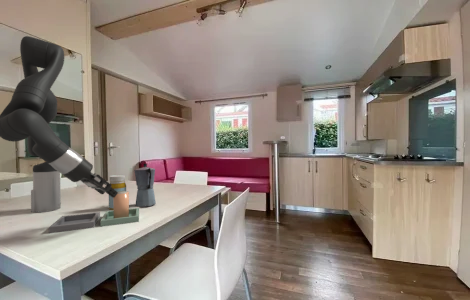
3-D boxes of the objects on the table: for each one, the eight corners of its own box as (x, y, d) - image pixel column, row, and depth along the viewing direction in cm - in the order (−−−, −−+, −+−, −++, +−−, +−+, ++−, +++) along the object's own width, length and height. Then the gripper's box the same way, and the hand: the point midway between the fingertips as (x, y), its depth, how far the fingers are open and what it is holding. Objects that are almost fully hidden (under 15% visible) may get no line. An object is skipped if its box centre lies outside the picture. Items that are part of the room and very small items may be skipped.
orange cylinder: (112, 221, 78) (112, 194, 78) (114, 217, 83) (114, 191, 82) (128, 220, 80) (128, 193, 80) (129, 215, 85) (129, 190, 84)
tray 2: (100, 228, 73) (100, 220, 73) (105, 217, 84) (105, 211, 84) (138, 223, 78) (138, 216, 78) (139, 213, 89) (139, 207, 89)
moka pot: (150, 200, 111) (149, 162, 111) (162, 206, 100) (162, 163, 100) (130, 204, 105) (130, 163, 105) (141, 210, 93) (141, 165, 93)
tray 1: (49, 235, 68) (49, 227, 68) (62, 222, 79) (62, 216, 79) (93, 229, 73) (93, 221, 73) (100, 218, 84) (100, 212, 84)
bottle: (118, 211, 92) (118, 177, 92) (105, 210, 94) (104, 176, 94) (129, 207, 99) (129, 175, 99) (116, 206, 101) (116, 174, 101)
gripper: (90, 156, 66) (127, 187, 76) (72, 155, 75) (108, 183, 84) (69, 175, 62) (111, 205, 72) (53, 172, 70) (93, 199, 80)
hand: (109, 193), depth 78 cm, fingers open, 8 cm apart
